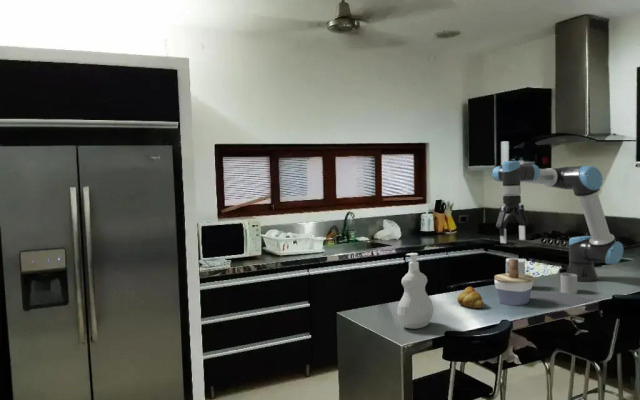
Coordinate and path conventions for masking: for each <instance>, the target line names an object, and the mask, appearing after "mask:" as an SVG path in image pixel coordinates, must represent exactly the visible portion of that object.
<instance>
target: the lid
mask: <svg viewBox="0 0 640 400" xmlns="http://www.w3.org/2000/svg"><path fill="white" fill-rule="evenodd" d="M517 259H518V258H512V259H509V273H506V272H505V273H500V274H495V275H493V276H494V278H493V279H494V281H495V280H497V281H501V282H508V283H527V282H532V281H533V282H534V281H535V277H534V276H532V275H531V274H526V273H525V274H519V271H518V260H517Z"/></svg>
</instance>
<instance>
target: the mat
mask: <svg viewBox="0 0 640 400" xmlns="http://www.w3.org/2000/svg"><path fill="white" fill-rule="evenodd" d="M529 299H531V300H532V299H533V300H538V301H542V302H546V303H551V304H556V305H560V306H565V307H570V308H571V307H574V306H578V305H581V304H584V303H587V302H591V301H593V300H594V299H592V298H587V297H582V296H578V295H577V296H576V295H573V294H571V295H570V294H568V293H562V292H561V293H560V292H556V291H550V290H548V291H543V292H541V293H540V292H539V293H536V294H532V295H530V298H529Z"/></svg>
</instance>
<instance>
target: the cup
mask: <svg viewBox="0 0 640 400" xmlns="http://www.w3.org/2000/svg"><path fill="white" fill-rule="evenodd" d="M560 292H561V293H562V294H567V295H570V294H571V295H574V294H578V281H577V275H576V274H570V273H566V272H565V273H560Z"/></svg>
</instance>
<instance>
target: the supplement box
mask: <svg viewBox="0 0 640 400" xmlns="http://www.w3.org/2000/svg"><path fill="white" fill-rule="evenodd" d="M509 259H513V258H506V259H505V274H506V273H509ZM516 259H517V260H518V271H519V274H526V263H525V258H516Z"/></svg>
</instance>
